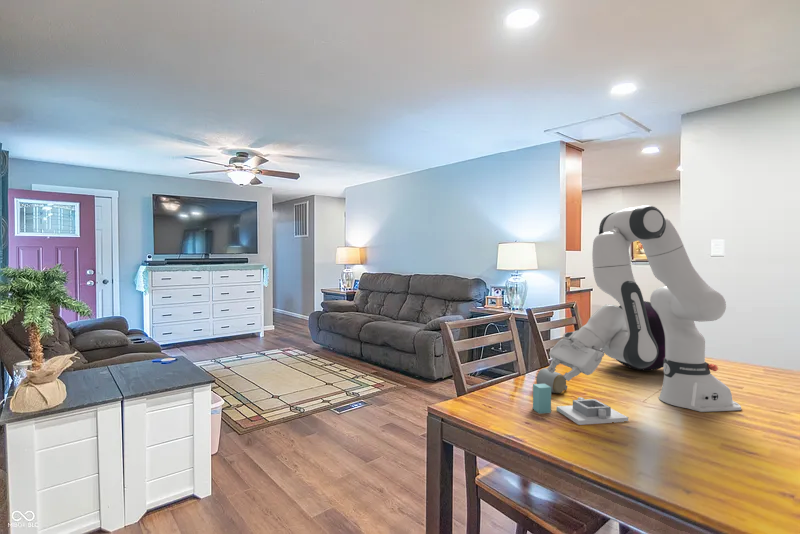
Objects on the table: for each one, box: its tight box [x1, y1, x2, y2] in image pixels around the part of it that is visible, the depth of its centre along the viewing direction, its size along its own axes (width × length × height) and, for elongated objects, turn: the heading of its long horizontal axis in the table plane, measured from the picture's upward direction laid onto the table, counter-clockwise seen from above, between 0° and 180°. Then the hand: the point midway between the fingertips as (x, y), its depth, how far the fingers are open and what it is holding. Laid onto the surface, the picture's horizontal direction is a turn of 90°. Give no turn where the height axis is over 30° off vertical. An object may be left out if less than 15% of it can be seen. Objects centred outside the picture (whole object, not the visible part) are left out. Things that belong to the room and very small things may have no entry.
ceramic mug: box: [535, 367, 568, 394], centre depth 152 cm, size 11×8×8 cm
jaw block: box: [532, 383, 552, 414], centre depth 131 cm, size 4×4×8 cm
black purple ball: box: [615, 300, 665, 372], centre depth 182 cm, size 30×30×30 cm
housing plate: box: [556, 396, 629, 426], centre depth 127 cm, size 16×12×4 cm
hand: (557, 374), depth 132 cm, fingers open, 8 cm apart
